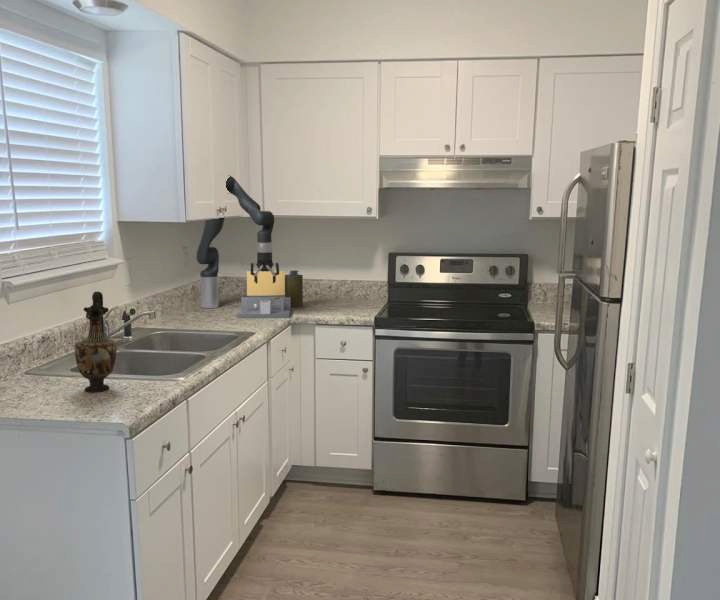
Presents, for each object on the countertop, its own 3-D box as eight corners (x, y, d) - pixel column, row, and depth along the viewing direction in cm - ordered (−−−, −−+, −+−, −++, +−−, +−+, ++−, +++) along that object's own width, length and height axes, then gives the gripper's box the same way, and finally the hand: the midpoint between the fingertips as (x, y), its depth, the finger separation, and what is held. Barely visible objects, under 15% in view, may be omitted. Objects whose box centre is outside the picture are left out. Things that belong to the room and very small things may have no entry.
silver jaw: (261, 312, 312) (260, 300, 311) (270, 312, 312) (270, 300, 311) (260, 313, 307) (260, 302, 306) (270, 313, 307) (270, 302, 306)
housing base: (241, 311, 325) (241, 295, 324) (290, 311, 327) (290, 295, 326) (237, 318, 306) (236, 301, 304) (289, 317, 308) (288, 301, 306)
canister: (297, 303, 351) (297, 269, 348) (306, 306, 343) (306, 271, 340) (280, 305, 346) (280, 270, 342) (289, 307, 337) (288, 272, 334)
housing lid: (247, 296, 323) (247, 296, 324) (284, 296, 325) (284, 296, 326) (246, 269, 323) (247, 269, 324) (284, 269, 325) (284, 269, 326)
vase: (71, 395, 182) (65, 296, 177) (86, 383, 194) (80, 290, 189) (111, 394, 183) (106, 296, 178) (124, 382, 195) (119, 290, 190)
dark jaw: (272, 308, 322) (272, 297, 321) (281, 308, 322) (281, 297, 321) (271, 310, 317) (271, 299, 316) (281, 310, 317) (281, 299, 316)
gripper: (279, 250, 309) (279, 282, 311) (251, 250, 308) (251, 282, 310) (278, 251, 301) (278, 284, 304) (249, 251, 300) (250, 284, 303)
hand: (265, 283), depth 307 cm, fingers open, 8 cm apart
